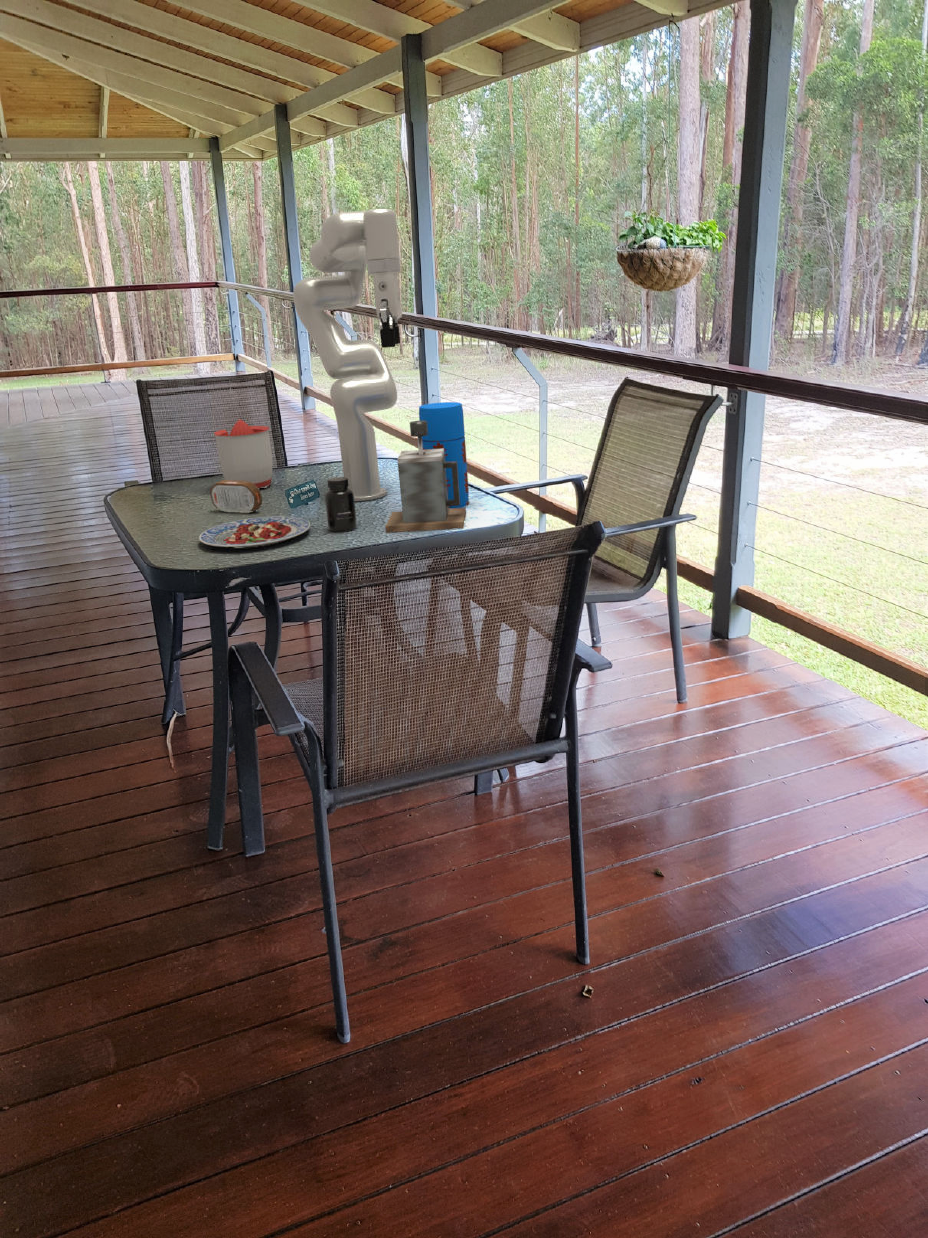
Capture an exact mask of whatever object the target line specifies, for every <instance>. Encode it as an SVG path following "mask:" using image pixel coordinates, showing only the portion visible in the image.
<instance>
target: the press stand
mask: <svg viewBox="0 0 928 1238" xmlns="http://www.w3.org/2000/svg"><path fill="white" fill-rule="evenodd" d="M396 459H397V460H396V461H397V469H398V470H397V471H398V481H399V483H398V484H399V489H400V490H399V492H400V502H401V510H399V511H392V512H391V513H390V515H389V518H388V520H387V522H386V525H385V527H384V528H385V534H386V533H387V534H389V532H390V533H403V532H402V531H408V532H422V531H439V530H453V529H452V528H461V529H464V527H465V523H464V521H465V522H466V516H467V509H466V508H467V507H463V508H450V509H449V506H459V505H460V496H459V482H458V469H457V461H456V462H452V461H451V462H445V455H444V448H443V449H427V450H423V454H420V455H419V449H416V450H414V449H413V450H412V449H411V450H401V452H400V454H399V455H398V456H397V458H396ZM446 468H452V479H453V492H454V499H453V500H448V494H447V481H446Z"/></svg>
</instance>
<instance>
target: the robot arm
mask: <svg viewBox="0 0 928 1238" xmlns="http://www.w3.org/2000/svg"><path fill="white" fill-rule="evenodd" d="M398 233H399V232H398V223H397V216H396V213H395V211H394V210H393V209H390V208H376V209H375V208H374V209H368V210H363V211H362V210H361V211H359V210H357V211H355V210H354V211H344V212H343V211H341V212H336V213H333V214H331V215H330V216H329V217H327V218H326V219H324V221H323V222H322V226H321V230H320V238H318V239H317V240H316V241H315V242H314V243H313V244H312V245H311V247H310V250H309V261H310V264H311V265H312V266H313V268H315V269H316V270H318V272H322V273H325V274H326V273H327V274H328V273H330V274H331V273H334V274H335V273H343V272H344V274H338V275H325V276H324V275H323V276H313V277H307V278H304V279H301V280H300V281H298V282H297V283H296V284H295V285H294V288H293V294H292V295H293V303H294V307H295V311H296V314H297V316H298V319H299V320H300V322H301V324H302V325H303V327H304V328H305V329H306V331H307V332H308V334H309V335H310V336H311V338H312V341H313V342H314V346H315V348H316V351H317V353H318V356H319V359H320V361H321V364H322V365H323V368H324V370H325V372H326V374H327V375H328V377H329V378H331V379H333V380H336V381H334V382H333V383H332V384H331V386H330V392H329V393H330V394H329V396H330V401H331V404H332V407H333V411H334V415H335V419H336V425H337V430H338V431H337V432H338V439H339V447H340V448H339V449H340V457H341V466H342V473H343V474H342V475H343V477H345V478H348V483H349V486H348V488H349V489H351V490H352V491H353V493H354V501H355V502H365V501H366V502H367V501H373V500H377V499H380V498H383V497H385V496H386V495H387V494H388V493H387V492H388V491H387V489H386V488H384V487H381V483H380V482H381V481H380V473H379V461H378V453H377V451H378V450H377V441H376V434H375V432H376V431H375V429H374V426H373V424H372V423H371V422H370V421H369V419H368V418H367V417H366V416H365V414H366V413H371V412H372V413H373V412H377V411H378V412H379V411H383V410H388V409H391V408H392V407H394V406H395V404H396V403H397V402H398V401H397V400H398V392H397V391H398V389H397V386H396V383H395V380H394V377H393V376H392V373H391V371H390V368H389V366H388V363H387V361H386V358H385V355H384V354H383V351H382V350H381V348H384V349H385V348H395V347H396V344H400V343H401V336H400V326H399V321H398V319H402V316H403V312H402V311H403V310H402V304H401V293H400V285H399V278H398V275H397V274H401V273H402V270H401V268H402V267H401V260H400V247H399V235H398ZM366 272H367V275H368V276H369V277H370V276H372V277H373V279H372V280H373V291H374V301H375V311H376V317H377V319H378V320H379V328H380V329H379V333H380V334H379V335H380V344H381V345H380V346H381V348H380V346H379V345H378V344H377V342H375V341H373V340H371V339H356V340H352V339H351V340H350V339H348V337H347V336H346V333H345V330H344V327H342V325H341V324H340V323H339V322H338V320H336V319H335V318H334V317H332V316H331V315H330V314H328V313H326V311H329V310H330V311H332V310H341V309H342V310H344V309H351V308H355V307H356V306H357V305H358V304H359V303H360V300H361V298H362V294H363V288H364V283H365V276H366Z"/></svg>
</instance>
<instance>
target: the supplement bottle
mask: <svg viewBox="0 0 928 1238" xmlns="http://www.w3.org/2000/svg"><path fill="white" fill-rule="evenodd" d="M348 486H349V483H348V478H345V477H344V476H343V477H341V476H339V477H332V478H331V477H330V478H329V479H327V488H328V489H329V490H327V491H326V492H325V493H324V499H325V502H324V503H325V511H326V518H327V519H326V520H327V528H328V530H329V531H330V532H333V533H344V532H350V531H353V530H356V528H357V526H358V525H357V524H358V523H357V514H356V501H354V493H353V491H352V490H351V489H349V488H348Z"/></svg>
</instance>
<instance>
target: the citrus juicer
mask: <svg viewBox="0 0 928 1238" xmlns="http://www.w3.org/2000/svg"><path fill="white" fill-rule="evenodd" d="M269 429H270V427H269V426H266V425H264V426H263V425H250V426H249V425H248V423H246V422H245V421H243V420H242V419H238V420H237V422H236V423H235V424H234V425H233V427H232V428H231V431H230V433H229V432H228V431H227V430H226V429H220V430H217V431H215V432H213V434H214V436H215V441H216V448H217V455H218V461H219V465H220V471H221V473H222V477H223V480H234V481H249V482H251V483H253V484H254V485H256V486H257V488H261V487H265V486H267V485H271V482H272V478H273V477H272V476H273V468H274V467H273V466H274V465H273V454H272V446H271V440H270V433H269V432H270V431H269Z"/></svg>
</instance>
